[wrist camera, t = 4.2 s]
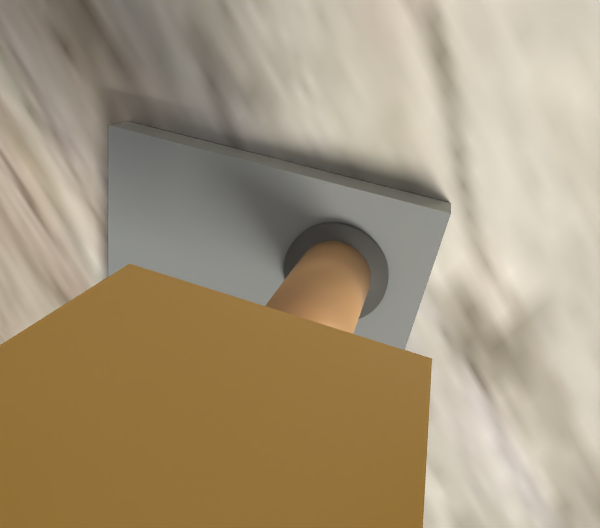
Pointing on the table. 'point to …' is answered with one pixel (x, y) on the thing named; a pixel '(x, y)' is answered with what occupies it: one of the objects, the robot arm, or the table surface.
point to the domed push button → (206, 416)
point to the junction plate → (271, 231)
